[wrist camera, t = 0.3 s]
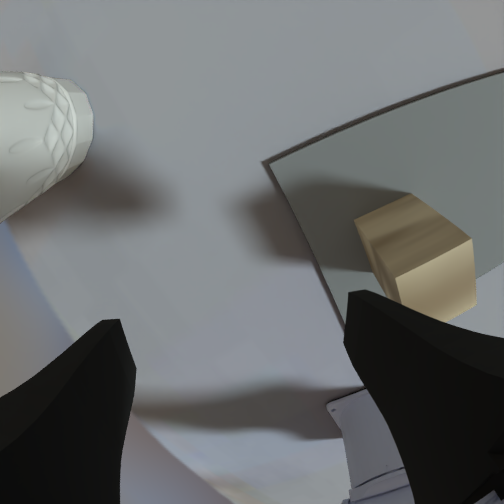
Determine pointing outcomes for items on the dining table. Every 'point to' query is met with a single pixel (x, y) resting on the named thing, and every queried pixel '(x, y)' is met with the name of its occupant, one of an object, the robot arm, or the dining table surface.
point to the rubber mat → (402, 178)
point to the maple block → (420, 258)
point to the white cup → (39, 135)
